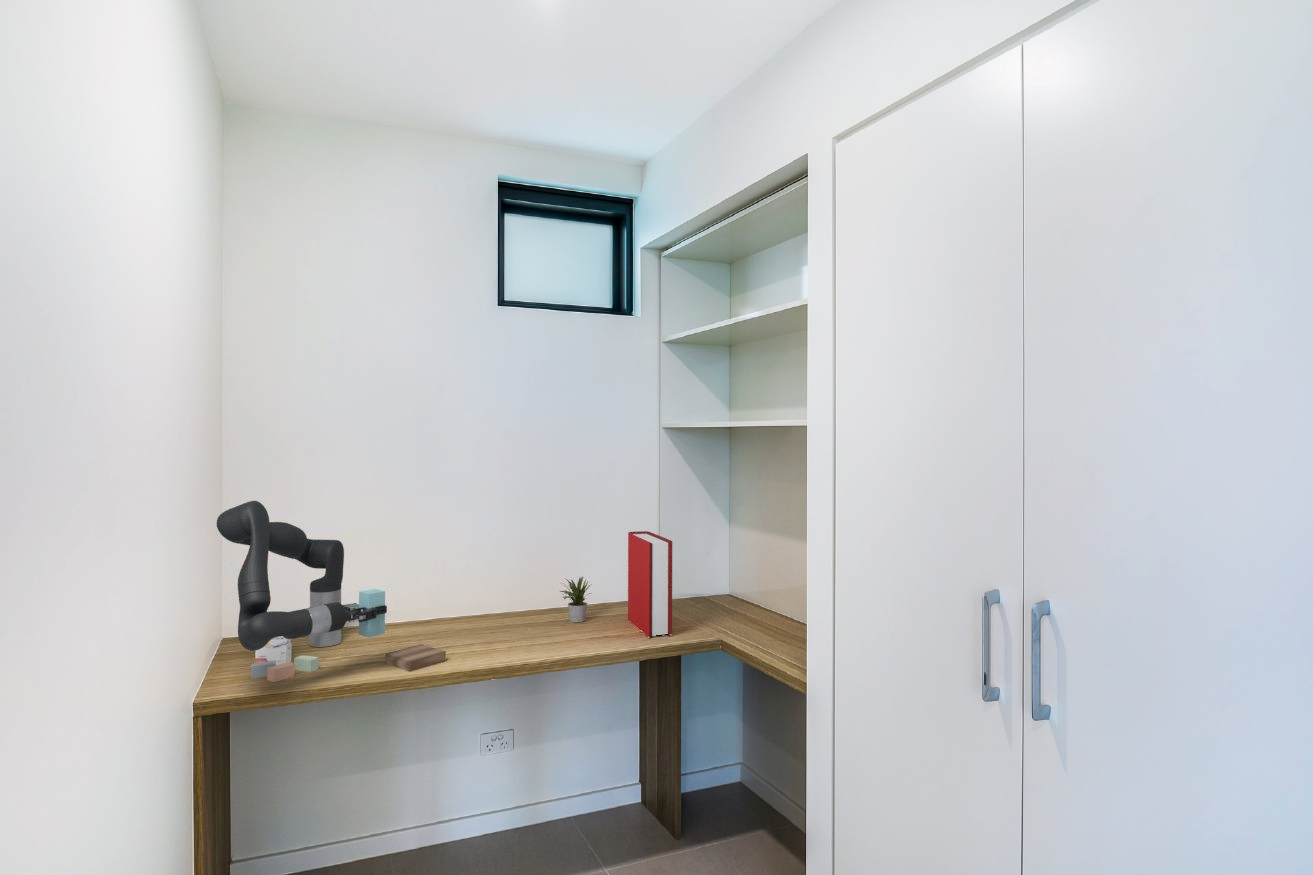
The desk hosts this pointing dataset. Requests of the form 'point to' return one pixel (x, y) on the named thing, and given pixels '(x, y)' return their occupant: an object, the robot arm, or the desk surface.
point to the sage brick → (306, 663)
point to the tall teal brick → (378, 624)
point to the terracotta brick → (281, 672)
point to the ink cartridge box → (275, 651)
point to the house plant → (577, 601)
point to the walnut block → (415, 657)
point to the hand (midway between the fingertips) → (380, 607)
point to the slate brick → (261, 669)
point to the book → (650, 582)
